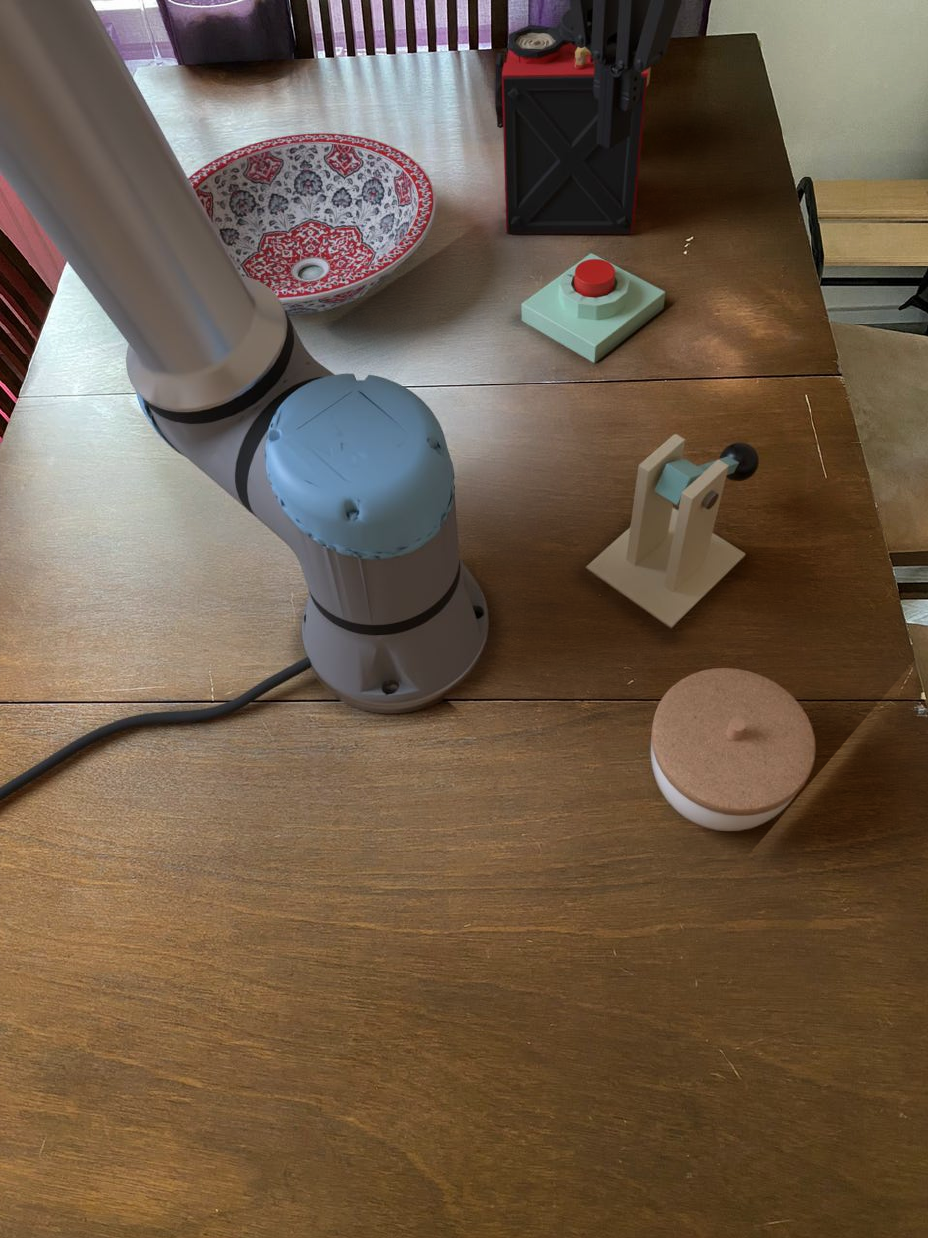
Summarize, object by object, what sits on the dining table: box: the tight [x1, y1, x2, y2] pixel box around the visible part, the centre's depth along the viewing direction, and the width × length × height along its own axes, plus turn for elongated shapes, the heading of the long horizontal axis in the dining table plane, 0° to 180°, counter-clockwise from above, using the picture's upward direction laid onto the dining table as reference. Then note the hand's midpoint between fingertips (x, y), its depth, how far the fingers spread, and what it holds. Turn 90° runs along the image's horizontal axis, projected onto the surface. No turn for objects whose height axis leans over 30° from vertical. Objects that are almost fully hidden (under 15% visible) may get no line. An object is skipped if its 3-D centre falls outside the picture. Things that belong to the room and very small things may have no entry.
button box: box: [520, 252, 666, 364], centre depth 99 cm, size 11×10×4 cm
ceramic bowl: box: [187, 132, 437, 315], centre depth 104 cm, size 29×29×8 cm
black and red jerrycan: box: [493, 24, 652, 235], centre depth 103 cm, size 16×10×20 cm, turn 84°
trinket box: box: [650, 667, 817, 832], centre depth 67 cm, size 11×11×9 cm
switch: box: [654, 441, 760, 506], centre depth 77 cm, size 13×3×3 cm, turn 135°
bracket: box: [585, 433, 746, 629], centre depth 77 cm, size 10×9×13 cm
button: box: [574, 259, 615, 298], centre depth 97 cm, size 4×4×2 cm
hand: (613, 139), depth 84 cm, fingers closed
